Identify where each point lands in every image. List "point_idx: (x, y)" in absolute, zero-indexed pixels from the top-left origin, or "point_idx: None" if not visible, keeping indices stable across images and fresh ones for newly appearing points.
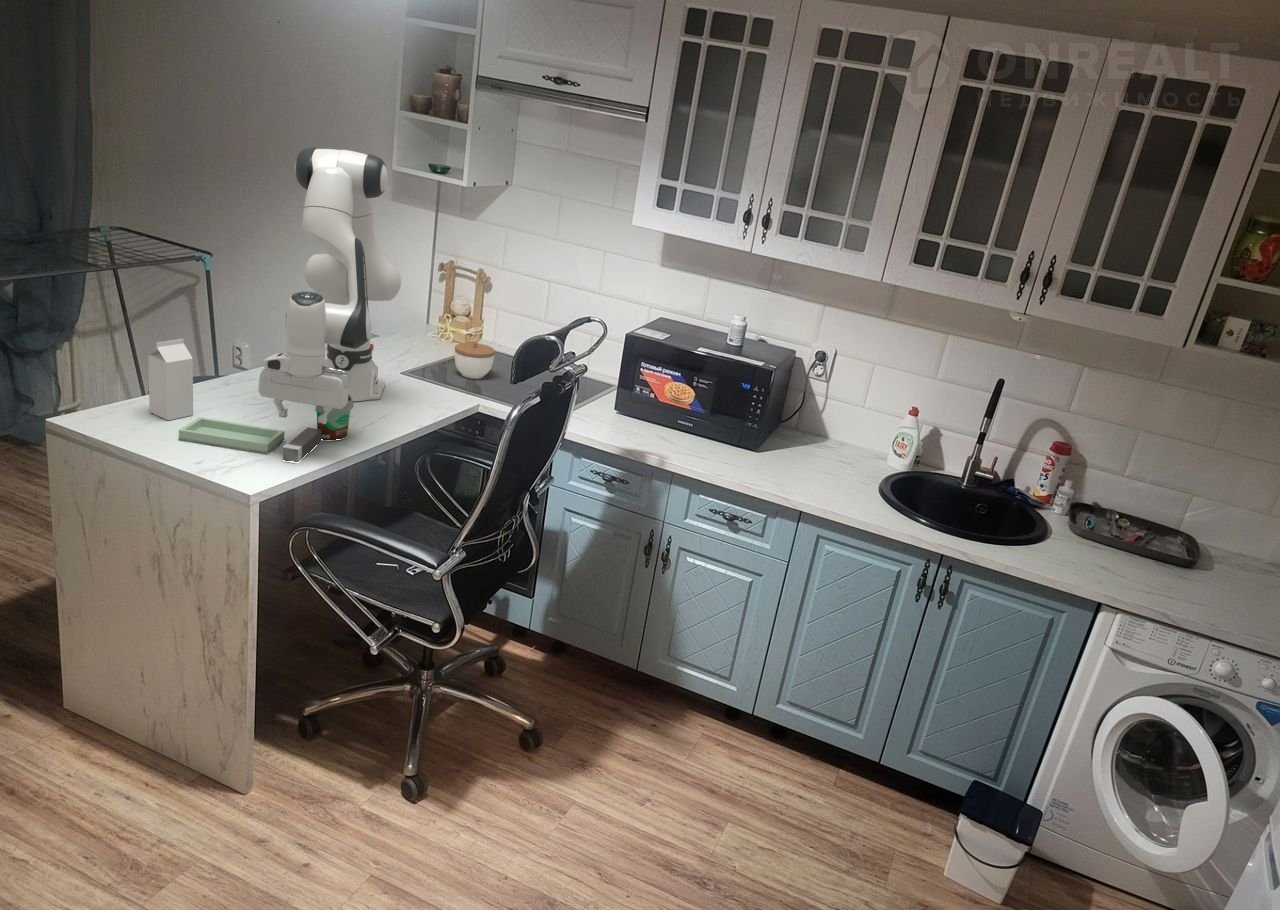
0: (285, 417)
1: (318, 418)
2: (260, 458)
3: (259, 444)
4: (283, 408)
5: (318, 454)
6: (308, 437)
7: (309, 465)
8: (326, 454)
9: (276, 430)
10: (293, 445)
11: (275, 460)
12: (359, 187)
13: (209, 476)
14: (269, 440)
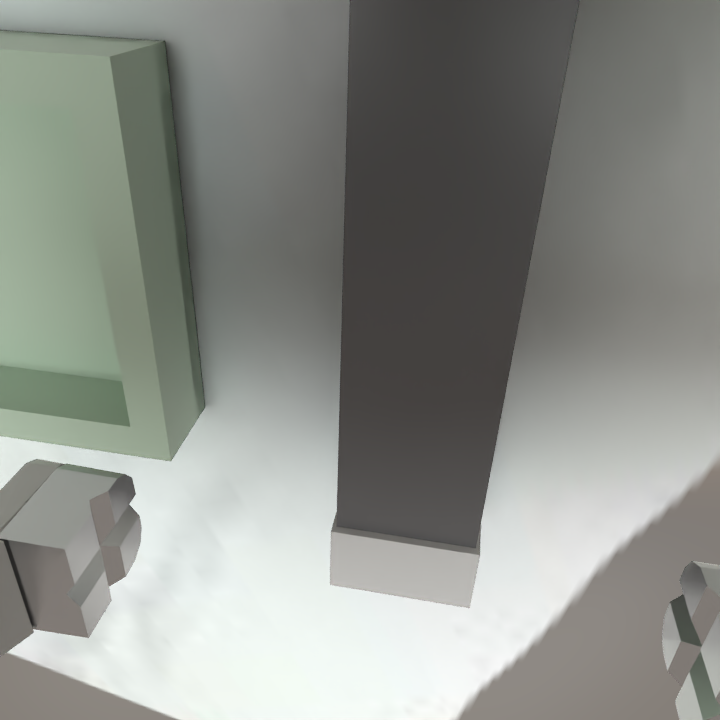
0: (139, 520)
1: (681, 713)
2: (202, 474)
3: (111, 444)
4: (3, 570)
5: (597, 298)
6: (476, 306)
7: (561, 515)
8: (677, 276)
9: (31, 83)
10: (402, 551)
11: (304, 484)
12: None
13: (116, 690)
14: (137, 379)
